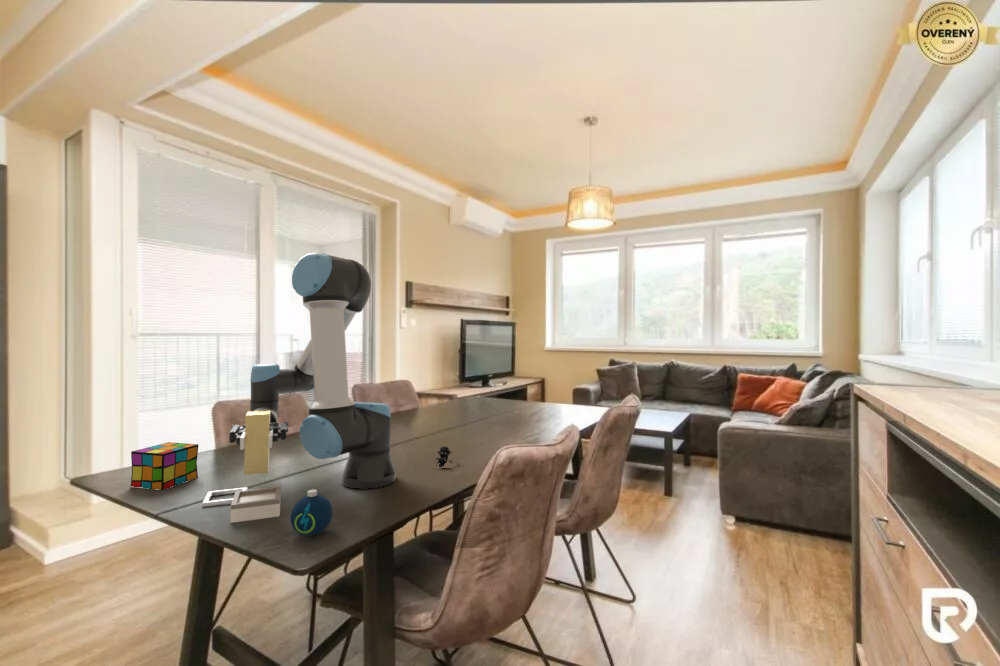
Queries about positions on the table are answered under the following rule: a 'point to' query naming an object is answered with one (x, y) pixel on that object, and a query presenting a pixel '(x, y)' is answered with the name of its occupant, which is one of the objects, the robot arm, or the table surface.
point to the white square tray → (256, 504)
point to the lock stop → (256, 442)
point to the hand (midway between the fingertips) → (256, 442)
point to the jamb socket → (219, 492)
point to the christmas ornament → (311, 514)
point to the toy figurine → (443, 456)
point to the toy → (164, 465)
